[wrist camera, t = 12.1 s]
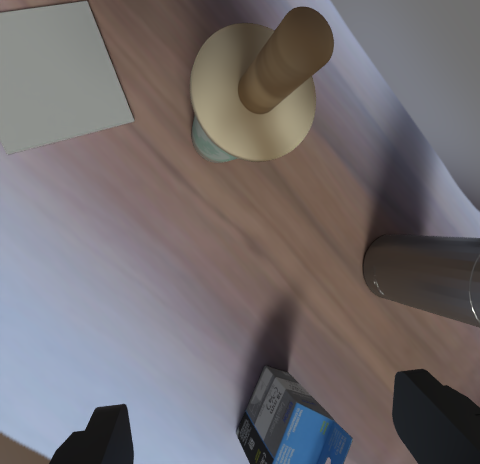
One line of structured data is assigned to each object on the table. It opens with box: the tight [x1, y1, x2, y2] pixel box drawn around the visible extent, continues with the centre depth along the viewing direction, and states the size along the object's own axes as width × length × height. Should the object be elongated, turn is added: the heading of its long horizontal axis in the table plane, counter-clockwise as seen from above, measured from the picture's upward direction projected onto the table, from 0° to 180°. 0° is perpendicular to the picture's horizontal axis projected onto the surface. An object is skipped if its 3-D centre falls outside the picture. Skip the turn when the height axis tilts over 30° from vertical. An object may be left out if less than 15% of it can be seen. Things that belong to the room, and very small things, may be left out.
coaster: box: [0, 1, 134, 155], centre depth 29 cm, size 12×12×1 cm
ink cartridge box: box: [236, 366, 353, 464], centre depth 32 cm, size 9×4×12 cm, turn 154°
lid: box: [190, 7, 334, 162], centre depth 20 cm, size 10×10×8 cm
